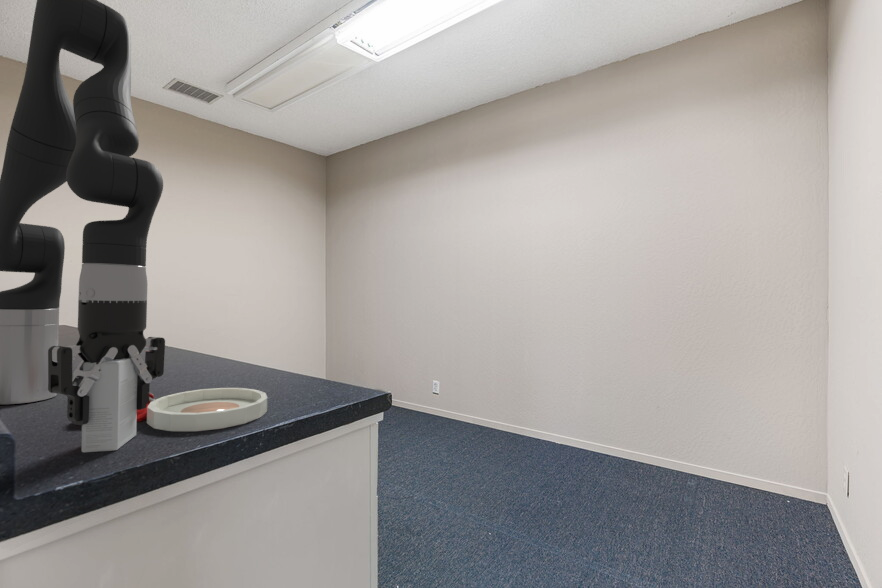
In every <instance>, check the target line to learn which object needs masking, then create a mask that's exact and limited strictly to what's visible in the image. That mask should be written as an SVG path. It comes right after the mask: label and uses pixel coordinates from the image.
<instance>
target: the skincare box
mask: <svg viewBox="0 0 882 588" xmlns="http://www.w3.org/2000/svg"><path fill="white" fill-rule="evenodd" d="M96 363H97V362H96ZM96 363H90V362H85V363H83V372H84V371H91V370H92V369H93V367H94V366H95V364H96ZM134 368H135V367H134V365H133V364H132V362H131V359H130V358H124V359H115V360H112V361H108V362H103V363H102V376H101V377H100V378H99V379H98V380H97V381H95V382H94V384H93V385H92V387H91V388H90V390H89V391H88V393H87V394H86V396H89V421H88V423H87V424H84V425H81V453H95V452H96V453H97V452H111V451H118V450H119V449H120V448H122V447H123V446H124V445H125V444H127V443H128V442H129V441H131V440H132V439H133V438H134V437H135V436H137V425H138V424H137V423H138V422H137V373H135V370H134ZM83 378H84V377H83Z"/></svg>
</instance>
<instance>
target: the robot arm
mask: <svg viewBox="0 0 882 588" xmlns="http://www.w3.org/2000/svg"><path fill="white" fill-rule="evenodd" d="M29 40H30V41H29V46H28V47H29V48H28V55H27V61H26V67H25V73H24V77H23V81H22V82H23V83H22V86H21V90H20V93H19V97H18V102H17V105H16V108H15V111H14V114H13V117H12V120H11V121H12V122H11V124H10V129H9V133H8V138H7V142H6V147H5V152H4V157H3V159H4V160H3V164H2V169H1V175H0V272H5V273H8V272H9V273H10V272H11V273H27V274H28V273H29V274H30V273H31V274H34V275H33V278H32V279H31V281H29V282H27V283H25V284H23V285H21V286H17V287H14V288H10V289H5V290H1V291H0V405H15V404H16V405H17V404H25V403H27V404H28V403H34V402H38V401H39V402H41V401H44V400H49V399H51V398H55V397H56V396H57V395H65V396H66V398H67V406H66V407H67V411H66V418H67V420H68V421H69V422H71V424H73V425H76V426H82V425H84V424H87V423H88V421H89V396H86V394H87V393H88V391H89V390H90V388H91V387H92V385H93V384H94V382H95V381H97V380H98V379H99V378H100V377H101V376H102V363H103V362H108V361H112V360H115V359H124V358H130V359H131V362H132V364H133V365H134V367H135V368H134V370H135V373H137V409H138V410H141V409H145V408H146V404H148V402H149V392H150V389H151V388H150V385H151V382H152V380H155V378H160V377H162V376H163V375H164V370H165V369H164V368H165V367H164V366H165V350H166V340H165V338H164V337H161V336H159V337H158V336H157V337H156V336H149V337H147V338H146V337H145V335H144V331H145V330H146V329H147V320H148V319H147V316H148V313H147V312H148V311H147V310H148V276H147V267H146V266H147V239H148V236H149V230H150V227H151V223H152V220H153V217H154V215H155V212H156V209H157V207H158V204H159V202H160V200H161V197H162V194H163V191H164V180H163V175H162V174H161V172H160V170H159V169H158V168H157V166H156V165H155V164H153V163H151V162H150V161H148V160H144V159H140V158H137V157H132V156H133V155H134V154H136V153H137V151H138V150H139V147H140V145H139V144H140V143H139V142H140V141H139V134H138V131H137V125H136V121H135V117H134V116H135V115H134V112H133V108H132V107H133V106H132V99H131V97H132V95H131V87H132V86H131V85H132V84H131V83H132V42H131V32H130V28H129V25H128V22H127V20H126V19H125V17H124V16H123V15H122V14H121V13H119V12H118V11H117V10H115V9H113V8H112V7H110V6H108V5H107V4H105V3H103V2H101V1H99V0H36V3H35V9H34V16H33V21H32V28H31V35H30V39H29ZM61 50H64V51H67V52H69V53H70V54H71V53H72V54H74V55H76V56H77V57H81V58H84V59H85V60H89V61H90V62H93V63H96V64H100V65H101V66H102V69H100V70H99V71H97V72H96V73H94V74H93V75H90V76H89V77H87V78H86V79H85V80H83V81H82V82H81V83H80V84H79V85H78V87H76V90H75V91H74V94H73V100H72V101H71V99H70V97H69V95H68V93H67V90H66V87H65V84H64V81H63V78H62V75H61V71H60V70H61V69H60V54H61V53H60V52H61ZM65 183H67V186H68V187H69V189H70V190H71V192H72V193H74V195H76V196H77V197H78V198H80V199H82V200H83V201H88V202H92V203H97V204H98V203H99V204H104V205H106V204H107V205H112V206H117V207H118V206H119V207H127V208H128V211H127V214H126V215H125V216H124V217H123V218H122V219H115V220H114V219H113V220H112V219H111V220H107V219H106V220H95V221H90V222H88V223H86V224H85V225H84V227H83V231H82V248H81V249H82V251H81V253H82V254H81V268H80V269H81V270H80V274H79V280H78V301H77V303H78V304H77V305H78V307H77V308H78V309H77V330H78V334H79V335H78V336H79V338H78V340H77V342H76V344H74V345H65V346H61V345H59V336H60V333H59V332H60V331H59V330H60V302H61V301H60V300H61V294H62V284H63V283H62V282H63V269H64V262H65V261H64V260H65V249H66V248H65V238H64V236H63V234H62V232H61V230H59V229H58V228H57V227H54V226H46V225H38V224H30V223H21V221H22V219H23V218H24V216H25V215H26V213H27V212H28V210H29V209H31V207H32V206H34V205H35V204H36V203H37V202H38V201H39V200H41V199H43V197H45V196H47V195H48V194H50V193H52V192H54V191H55V190H56V189H58V188H60V187H61V186H62V185H64V184H65ZM143 350H144V352H145V357H144V359H143V358H142V356H141V353H142V352H143ZM77 355H78V356H79V358H81V361H80V362H79V364H78V365H77V367H76V368H75V370H74V371H73V363H74V361H76V360H77V357H76V356H77ZM85 362H90V363H96V362H97V363H96V364H95V366H94V367H93V369H92V370H91V371H84V372H83V363H85ZM83 377H84V378H83Z"/></svg>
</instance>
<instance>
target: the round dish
mask: <svg viewBox="0 0 882 588" xmlns="http://www.w3.org/2000/svg"><path fill="white" fill-rule="evenodd" d="M267 412H268V395H267V393H266V392H264V391H261V390H258V389H254V388H246V387H218V388H217V387H213V388H201V389H193V390H186V391H181V392H177V393H172V394H169V395H164V396H161V397H159V398H156V399H155V400H154V401H152V402H150V404H149V405H148V407H147V419H146V424H147V425H148V426H150V427H151V428H153V429H155V430H161V431H166V432H202V431H210V430H220V429H221V430H222V429H226V428H230V427H235V426H241V425H244V424H247V423H250V422H252V421H255V420H258V419H260V418H261V417H263V416H264V415H265V414H266V413H267Z"/></svg>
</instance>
